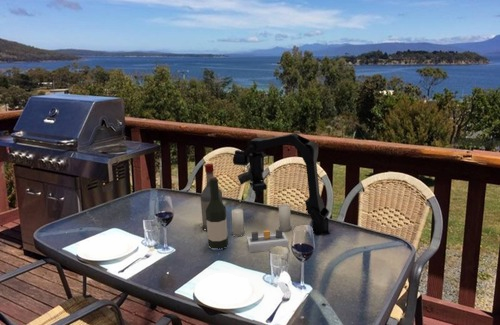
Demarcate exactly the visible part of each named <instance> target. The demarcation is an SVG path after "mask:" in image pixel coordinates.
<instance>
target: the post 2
mask: <svg viewBox="0 0 500 325" xmlns="http://www.w3.org/2000/svg"><path fill="white" fill-rule="evenodd" d="M278 220H279V222H278V223H279V224H278V225H279V226H278V229H282V232H283V233H289V232H292V230H293V228H292V226H291V224H292V223H291V221H292V220H291V205H289V204H285V203H283V204H280V205H279V206H278Z"/></svg>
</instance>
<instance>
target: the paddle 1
mask: <svg viewBox="0 0 500 325" xmlns="http://www.w3.org/2000/svg"><path fill="white" fill-rule="evenodd" d="M251 235H252V240H258V235H259V232H258V230H257V231H252V232H251Z"/></svg>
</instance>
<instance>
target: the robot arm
mask: <svg viewBox="0 0 500 325" xmlns="http://www.w3.org/2000/svg"><path fill="white" fill-rule="evenodd" d="M289 144H291V145H292V146H293V147H294V148H295V149H296V150H297V151H298V152H300V153H301V158H302V161H303V162H304V164H305V168H306V178H307V186H308V195H309V196H308V198H307V199H306V200H305V202H304V204H305V211H307V214H308V215H309V216H310V217H311V225H310V226H312V228H313V231H314V232H313V231H312V232H313V234H314V236H319V235H328V234H329V235H330V231H329V217H328V216H329V214H330V211H329V209H328V208H327V207H326V206H325V203H324V200H323V198H322V196H321V194H320V186H319V176H318V166H317V162H318V157H319V145H318V143H317V142H315V141H313V140H312V141H311V140H310V139H308V138H306V137H304V136H301V135H300V134H299V133H297V132H292V133H289V134H283V135H280V136H274V137H267V138H266V137H256V138H253V139H251V140H249V141H247V143H246V148H245V149H244V150H240V149H236V150H234V154H233V158H232V163H233V165H234V166H242V167H243V166H245V167H246V166H248V165H249V168H248V171H245V172H243V173H241V174H237V179H238V181H239V184H240V185H244V184H245V183H247V182H249V185H250V188H251V189H252V192H254V195H255V199H256V200H260V197H261V194H262V192H263V191H265V190H267V189H268V188H267V183H266V182H265V181H264V179H265V178H264V169H263V159H264V158H265V157H267V154H266V153H264V151H263V150H266V149H268V148H274V147H278V146H283V145H289Z"/></svg>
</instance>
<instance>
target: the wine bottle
mask: <svg viewBox="0 0 500 325" xmlns="http://www.w3.org/2000/svg"><path fill="white" fill-rule="evenodd" d="M209 181H210V194H211V201H210V203H209V205H208V207H207V209H206V220H207V231H206V233H207V242H208V247H209V246H210V247H211V248H218V249H219V248H220V249H221V248H224V247H227V245H228V246H229V237H228V220H227V208H226V206H225V204H224V202H223V201H222V202H223V203H222V202H221V200H220V199H219V189H220V188H219V179H218V177H217V176H213V177H211V178H210V180H209ZM218 188H219V189H218ZM227 248H228V247H227Z"/></svg>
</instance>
